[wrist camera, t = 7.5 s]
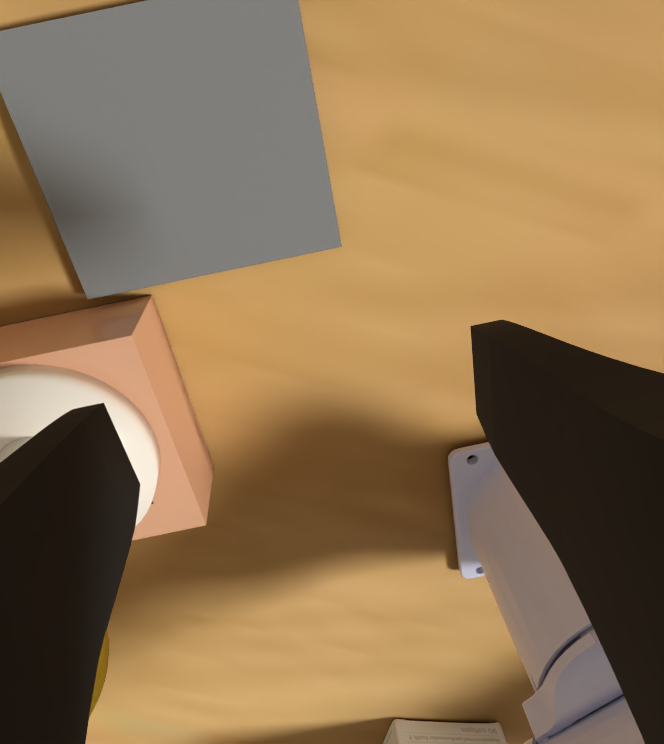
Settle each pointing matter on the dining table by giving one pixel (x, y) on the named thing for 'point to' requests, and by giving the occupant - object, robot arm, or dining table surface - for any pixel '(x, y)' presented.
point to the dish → (130, 393)
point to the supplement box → (443, 733)
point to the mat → (172, 137)
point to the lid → (66, 392)
